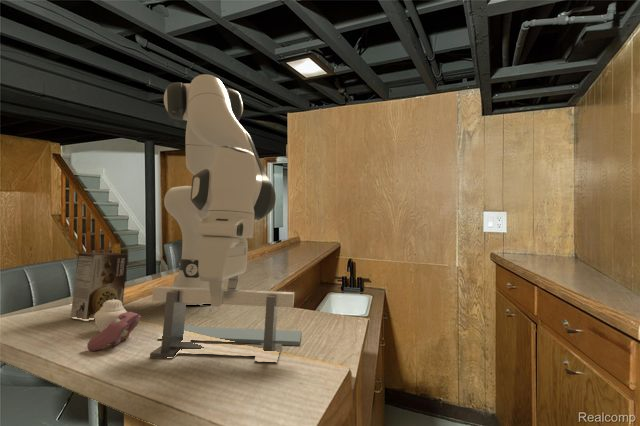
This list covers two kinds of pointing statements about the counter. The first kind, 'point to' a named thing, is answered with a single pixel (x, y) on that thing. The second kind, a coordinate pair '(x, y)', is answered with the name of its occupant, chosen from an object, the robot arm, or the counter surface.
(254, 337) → the slate mat
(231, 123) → the robot arm
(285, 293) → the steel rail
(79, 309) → the coffee box
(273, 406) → the counter surface
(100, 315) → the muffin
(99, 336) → the video game controller
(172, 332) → the rail rack
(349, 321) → the counter surface
